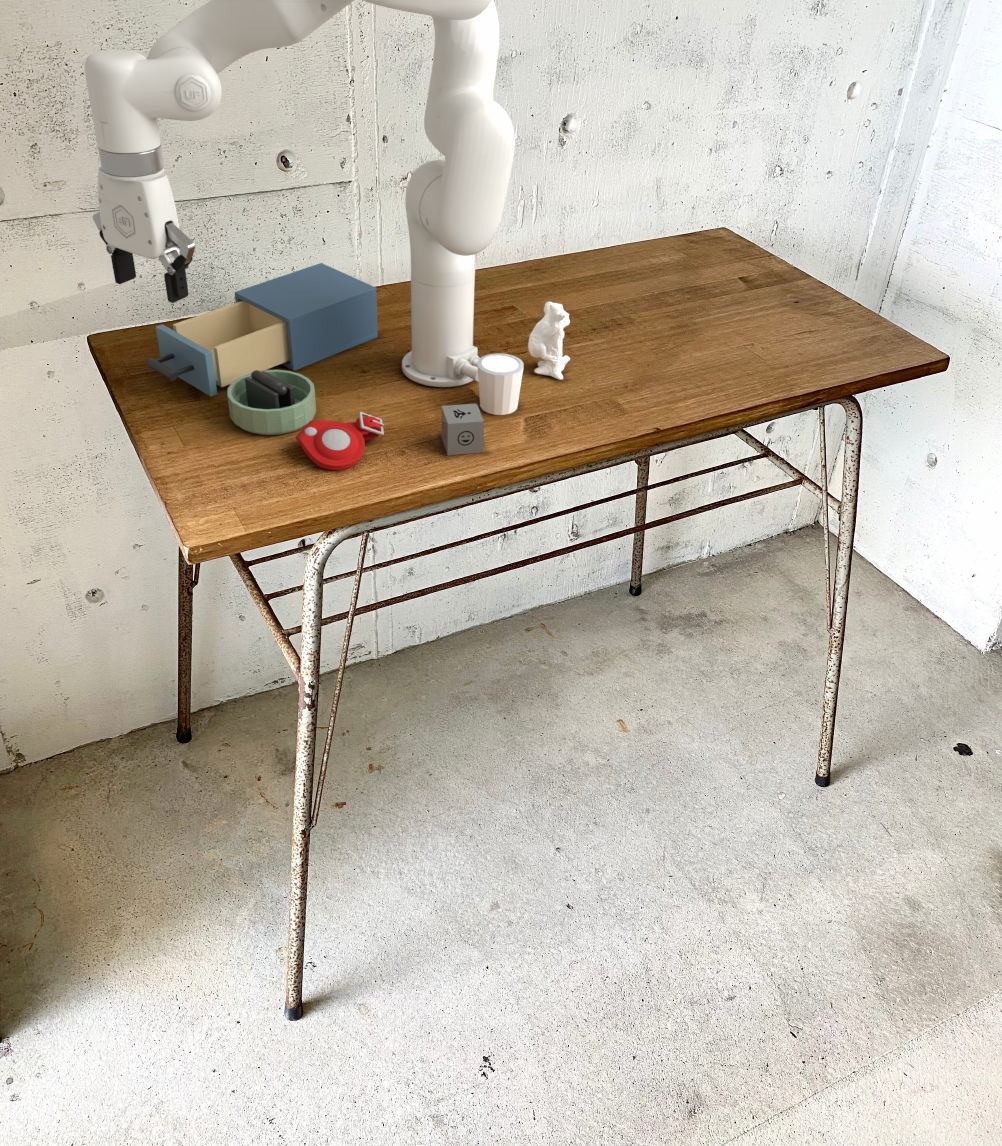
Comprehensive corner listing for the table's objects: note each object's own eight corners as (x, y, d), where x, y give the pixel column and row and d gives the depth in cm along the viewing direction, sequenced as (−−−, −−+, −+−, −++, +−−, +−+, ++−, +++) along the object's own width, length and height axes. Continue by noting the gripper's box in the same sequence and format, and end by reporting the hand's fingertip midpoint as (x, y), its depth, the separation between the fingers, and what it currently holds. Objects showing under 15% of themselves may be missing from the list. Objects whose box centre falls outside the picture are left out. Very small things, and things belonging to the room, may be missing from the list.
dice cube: (441, 436, 156) (441, 405, 153) (475, 434, 157) (476, 403, 154) (447, 455, 152) (448, 423, 149) (482, 452, 153) (484, 421, 150)
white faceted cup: (493, 389, 168) (495, 348, 163) (530, 404, 165) (533, 361, 160) (466, 407, 163) (467, 364, 159) (504, 422, 160) (506, 379, 156)
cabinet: (293, 371, 170) (289, 319, 165) (240, 342, 177) (234, 291, 172) (378, 337, 180) (376, 287, 175) (324, 310, 187) (321, 262, 182)
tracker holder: (349, 471, 146) (284, 439, 147) (347, 492, 149) (283, 460, 151) (392, 414, 153) (329, 384, 154) (389, 435, 156) (328, 405, 157)
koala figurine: (575, 383, 170) (582, 310, 163) (532, 384, 170) (537, 312, 162) (565, 358, 177) (571, 287, 170) (524, 359, 176) (528, 288, 169)
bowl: (333, 416, 159) (331, 390, 157) (266, 446, 152) (263, 420, 150) (280, 386, 166) (278, 361, 163) (213, 414, 158) (209, 388, 156)
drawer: (185, 406, 158) (179, 363, 154) (137, 376, 165) (129, 335, 160) (299, 361, 171) (296, 320, 166) (250, 335, 177) (245, 295, 173)
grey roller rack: (297, 417, 158) (294, 382, 154) (278, 425, 156) (274, 390, 152) (265, 399, 161) (262, 365, 158) (247, 407, 159) (243, 372, 156)
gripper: (59, 152, 138) (85, 282, 148) (159, 182, 131) (178, 316, 141) (106, 139, 143) (127, 265, 153) (204, 167, 136) (219, 297, 146)
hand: (152, 289), depth 147 cm, fingers open, 9 cm apart
